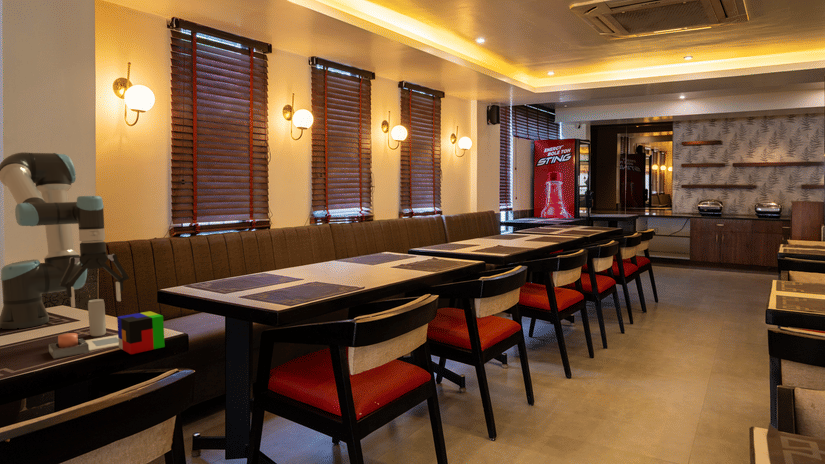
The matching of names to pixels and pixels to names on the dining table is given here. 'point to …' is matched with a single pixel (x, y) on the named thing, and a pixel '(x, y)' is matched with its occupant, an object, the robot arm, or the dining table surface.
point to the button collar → (68, 349)
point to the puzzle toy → (140, 332)
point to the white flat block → (103, 342)
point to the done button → (68, 340)
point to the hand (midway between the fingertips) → (96, 303)
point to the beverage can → (97, 317)
